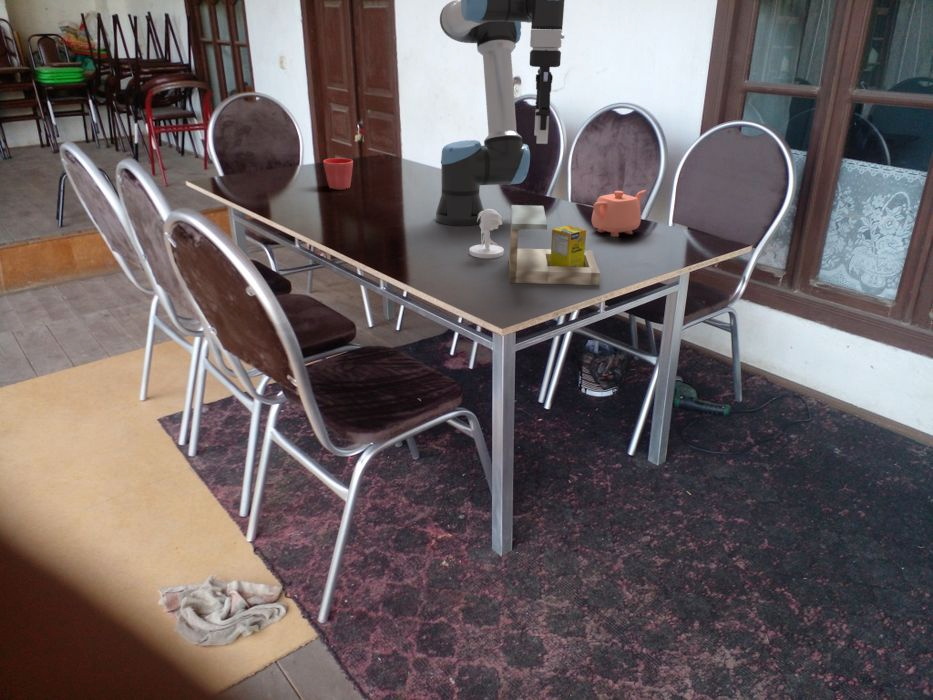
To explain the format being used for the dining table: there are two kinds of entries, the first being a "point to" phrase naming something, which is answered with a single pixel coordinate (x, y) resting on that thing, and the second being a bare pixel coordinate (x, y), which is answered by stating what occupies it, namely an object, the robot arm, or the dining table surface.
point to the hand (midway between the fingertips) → (540, 139)
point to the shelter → (543, 255)
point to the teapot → (617, 213)
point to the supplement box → (568, 246)
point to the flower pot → (338, 172)
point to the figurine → (488, 235)
